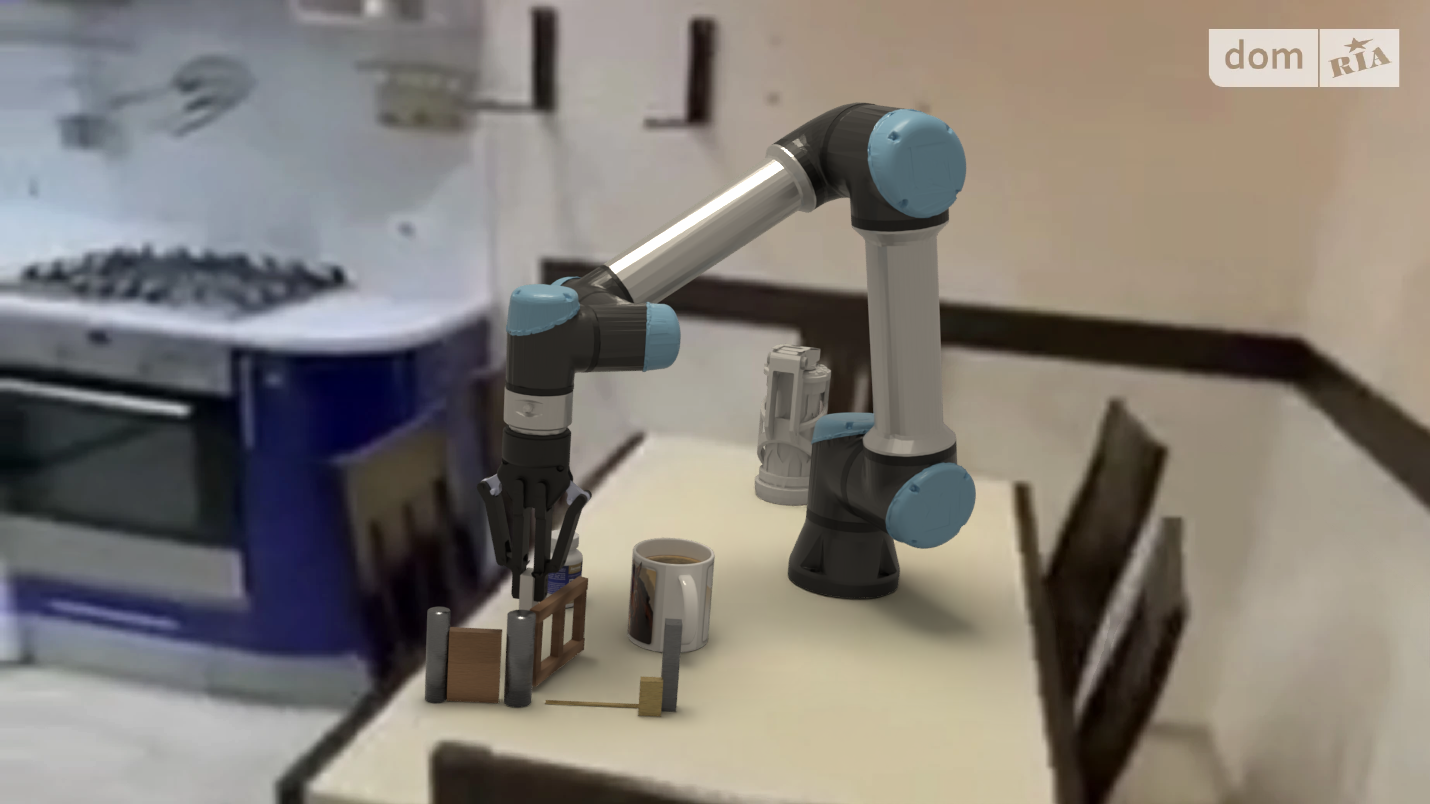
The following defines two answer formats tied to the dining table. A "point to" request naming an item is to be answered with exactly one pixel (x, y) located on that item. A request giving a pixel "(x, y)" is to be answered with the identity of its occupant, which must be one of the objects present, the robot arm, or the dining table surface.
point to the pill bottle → (565, 566)
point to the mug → (670, 591)
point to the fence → (484, 662)
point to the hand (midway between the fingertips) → (527, 625)
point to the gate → (559, 628)
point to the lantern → (790, 422)
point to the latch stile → (663, 675)
